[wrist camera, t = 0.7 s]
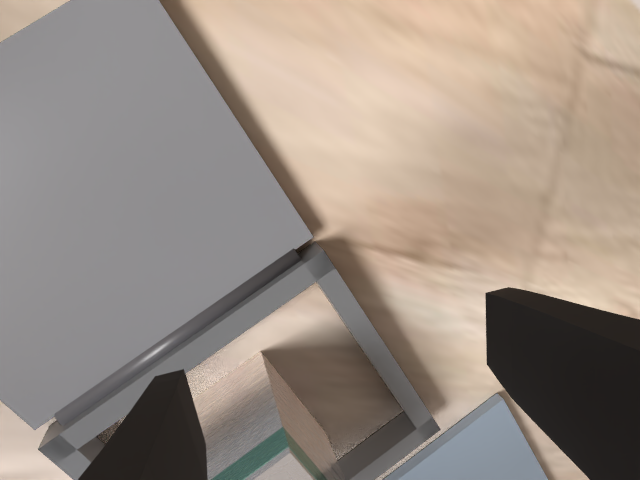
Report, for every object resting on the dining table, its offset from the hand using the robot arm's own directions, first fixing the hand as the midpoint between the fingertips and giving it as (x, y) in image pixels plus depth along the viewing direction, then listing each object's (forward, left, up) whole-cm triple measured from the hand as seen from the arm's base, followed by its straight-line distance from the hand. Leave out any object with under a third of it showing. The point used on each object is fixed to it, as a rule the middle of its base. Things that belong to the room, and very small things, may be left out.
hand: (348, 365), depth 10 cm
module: (-5, -7, -10) cm, 14 cm away
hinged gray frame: (-5, -1, -10) cm, 12 cm away
